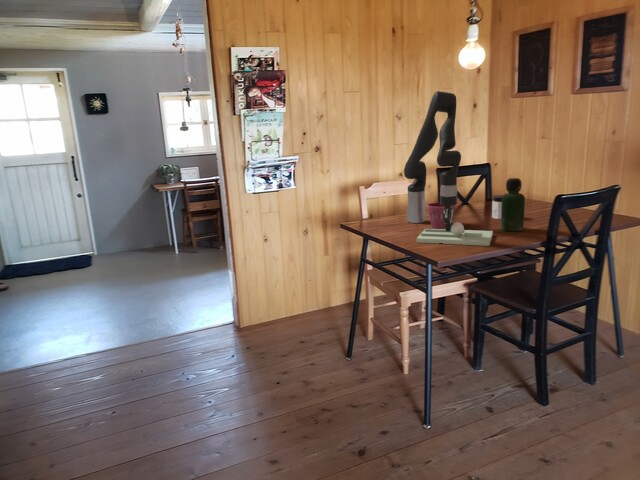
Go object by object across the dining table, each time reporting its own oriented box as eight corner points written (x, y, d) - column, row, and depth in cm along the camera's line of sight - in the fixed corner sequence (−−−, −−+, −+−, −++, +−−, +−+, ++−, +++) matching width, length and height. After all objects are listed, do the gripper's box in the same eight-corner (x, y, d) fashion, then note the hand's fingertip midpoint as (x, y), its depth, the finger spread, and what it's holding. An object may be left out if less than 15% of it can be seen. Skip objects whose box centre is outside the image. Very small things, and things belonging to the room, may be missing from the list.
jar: (488, 217, 263) (489, 196, 260) (500, 215, 266) (500, 194, 263) (500, 219, 255) (501, 198, 252) (512, 218, 258) (513, 196, 255)
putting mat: (416, 242, 220) (416, 236, 219) (425, 232, 237) (425, 226, 237) (489, 245, 207) (489, 239, 206) (492, 235, 224) (492, 228, 224)
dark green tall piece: (500, 231, 230) (502, 180, 224) (500, 227, 239) (502, 177, 233) (523, 232, 226) (526, 180, 220) (523, 227, 235) (525, 177, 229)
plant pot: (421, 228, 247) (421, 204, 244) (443, 224, 253) (443, 200, 250) (438, 233, 235) (438, 207, 232) (461, 229, 240) (461, 204, 237)
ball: (452, 221, 217) (464, 226, 216) (454, 219, 223) (466, 223, 221) (447, 233, 220) (460, 238, 218) (450, 230, 225) (462, 235, 223)
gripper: (442, 192, 225) (442, 227, 229) (437, 196, 214) (437, 233, 218) (459, 192, 222) (458, 228, 226) (454, 197, 210) (454, 234, 215)
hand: (448, 230), depth 222 cm, fingers closed
